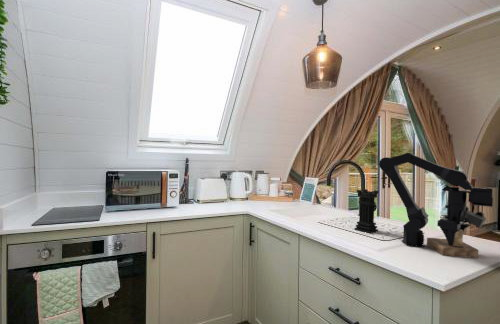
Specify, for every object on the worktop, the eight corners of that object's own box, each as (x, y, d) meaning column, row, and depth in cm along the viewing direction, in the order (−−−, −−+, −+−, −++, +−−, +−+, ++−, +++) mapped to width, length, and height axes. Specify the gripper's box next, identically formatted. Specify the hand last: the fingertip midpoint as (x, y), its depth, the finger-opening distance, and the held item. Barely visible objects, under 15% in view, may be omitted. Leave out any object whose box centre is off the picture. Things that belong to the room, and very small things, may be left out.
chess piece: (369, 233, 127) (370, 192, 127) (354, 229, 134) (355, 190, 133) (378, 231, 132) (379, 190, 131) (363, 227, 138) (364, 189, 138)
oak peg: (451, 253, 101) (452, 230, 101) (445, 249, 106) (446, 227, 106) (464, 254, 101) (465, 231, 100) (457, 250, 105) (458, 227, 105)
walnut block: (442, 255, 101) (442, 247, 101) (426, 244, 113) (427, 237, 113) (478, 257, 99) (478, 249, 99) (458, 246, 111) (458, 239, 111)
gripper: (475, 209, 91) (473, 254, 91) (491, 204, 102) (489, 245, 102) (437, 204, 100) (436, 245, 100) (455, 200, 111) (454, 237, 111)
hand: (454, 243), depth 103 cm, fingers open, 8 cm apart
